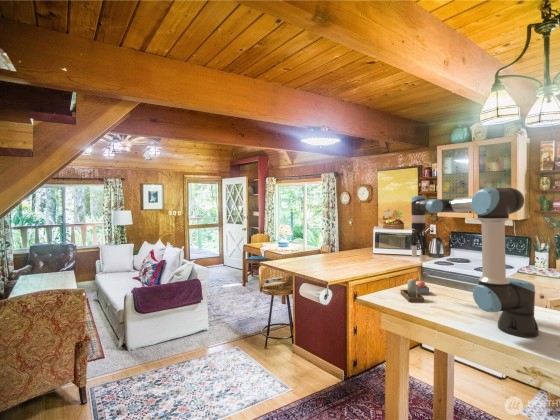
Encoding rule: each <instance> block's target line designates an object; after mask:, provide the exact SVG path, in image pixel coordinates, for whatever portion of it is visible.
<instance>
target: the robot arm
mask: <svg viewBox="0 0 560 420" xmlns="http://www.w3.org/2000/svg"><path fill="white" fill-rule="evenodd" d="M410 204H411V205H410V206H411V207H410V208H411V210H410V211H411V214H410V215H411V216H410V217H411V229H412V230H411V236H410V237H411V238H410V245H411V257H418V255H417V254H418V250H417V249H418V247H417V246H418V243H419V246H420V248H419V250H420V251H419V252H420V253H419V258H420V260H419V261H421V262H424V261H425V262H426V260H427V251H426V250H427V249H428V243H427V242H428V241H427V238H426V231H423V230H425V229H426V219H427V216H426V213H427V214H437V213H440V214H441V213H459V212H461V213H462V212H474V213H475V214H476V215H477V219H478V221H479V222H480V223H481V257H482V258H481V262H482V264H481V265H482V275H481V277H479V278H478V285H476V286H475V287H474V288H473V290H472V297H473V300H474V302H475V304H476V305H477V306H478V308H479V309H481V310H482V311H483V312H487V313H499V312H501V314H500V316H499V318H498V319H497V328H498V329H499V330H500V331H502V332H503V333H506V334H508V335H511V336H517V337H520V338H521V337H522V338H535V337H538V336H539V334H540V333H539V332H540V331H539V327H538V323H537V320H536V317H535V305H536V304H535V303H536V302H535V300H536V299H535V298H536V286H535V284H534V283H533V282H530V281H527V280H525V279H523V280H522V279H517V278H514V277H513V278H511V277H507V274H506V273H507V271H506V270H507V269H506V267H507V266H506V222H507V221H508V220H509V219H510V214H514V213H517V212H518V211H520V210H521V209H522V208H523V207H524V205H525V197H524V194H523V193H522V192H521V191H520V190H518V189H517V188H513V187H485V188H481V189H479V190H477V191H476V192H475V193H474V194H473V196H467V197H466V196H465V197H457V198H456V197H455V198H432V199H430V198H428V199H427V198H426V196H425V195H413V196H411V203H410Z"/></svg>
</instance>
